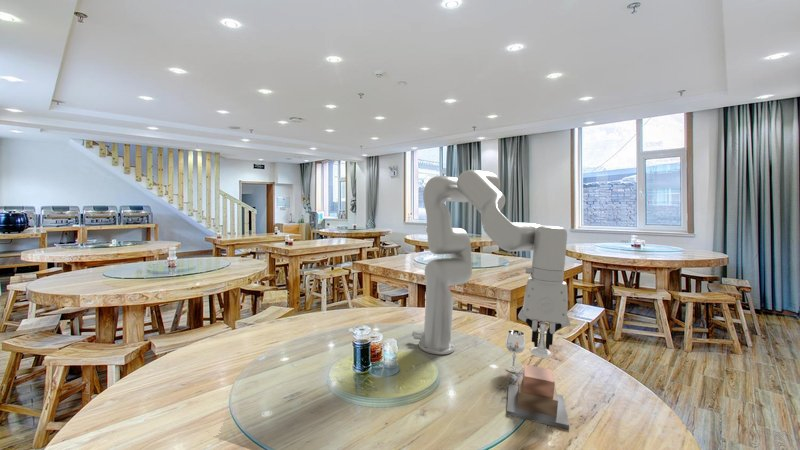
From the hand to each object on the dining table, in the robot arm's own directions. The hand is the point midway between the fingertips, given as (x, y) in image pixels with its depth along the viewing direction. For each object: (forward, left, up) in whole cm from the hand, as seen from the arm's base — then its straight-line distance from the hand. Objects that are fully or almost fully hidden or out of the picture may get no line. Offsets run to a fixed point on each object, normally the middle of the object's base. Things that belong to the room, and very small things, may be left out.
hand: (541, 345), depth 91 cm
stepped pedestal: (0, 0, -16) cm, 16 cm away
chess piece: (0, 0, -2) cm, 2 cm away
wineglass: (-6, +19, -16) cm, 26 cm away
